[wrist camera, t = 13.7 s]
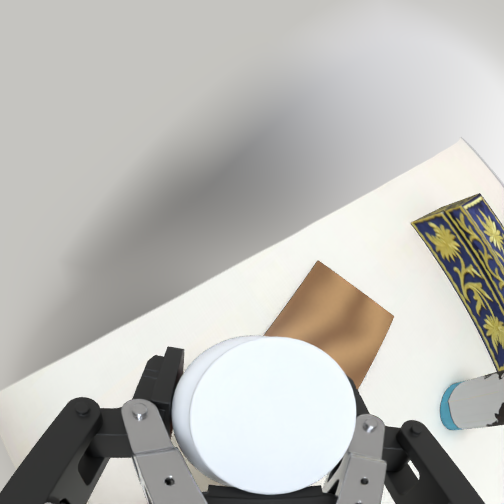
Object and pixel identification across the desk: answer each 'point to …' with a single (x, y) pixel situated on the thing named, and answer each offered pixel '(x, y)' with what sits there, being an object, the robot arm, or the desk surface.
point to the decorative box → (472, 263)
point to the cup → (474, 403)
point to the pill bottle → (264, 414)
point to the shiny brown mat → (335, 321)
